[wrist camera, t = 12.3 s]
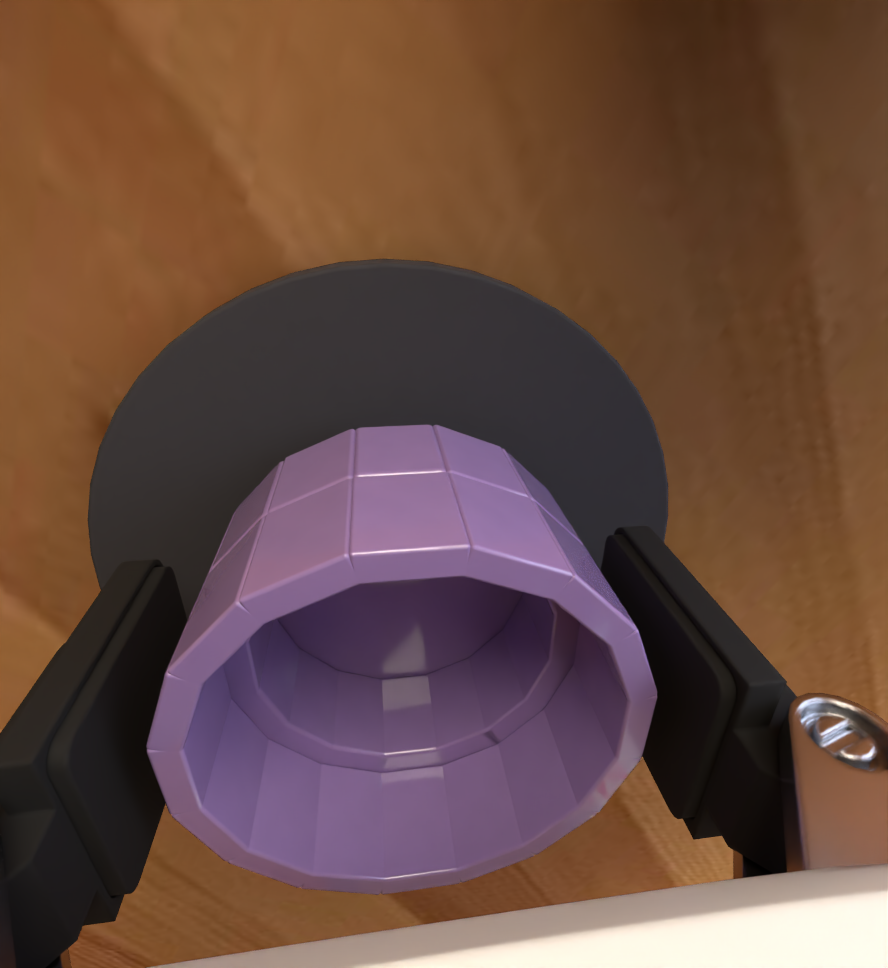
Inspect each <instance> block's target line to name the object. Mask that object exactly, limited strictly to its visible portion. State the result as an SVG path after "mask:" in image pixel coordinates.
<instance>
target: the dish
mask: <svg viewBox="0 0 888 968" xmlns="http://www.w3.org/2000/svg"><path fill="white" fill-rule="evenodd" d="M656 702H657V688H656V684H655V681H654V678H653V675H652V672H651V668H650V665H649V662H648V659H647V656H646V652H645V649H644V646H643V643H642V639H641V636H640V633H639V630H638V628H637V627H636V625H635V624H634V622H633V621H632V619H631V618H630V616H629V614H628V613H627V611H626V610H625V608H624V607H623V605H622V604H621V602H620V600H619V599H618V597H617V596H616V594H615V593H614V591H613V590H612V588H611V586H610V585H609V583H608V582H607V580H606V579H605V577H604V576H603V574H602V572H601V571H600V569H599V568H598V566H597V565H596V563H595V562H594V560H593V558H592V557H591V555H590V554H589V552H588V551H587V549H586V548H585V546H584V545H583V543H582V542H581V540H580V538H579V537H578V535H577V534H576V532H575V531H574V529H573V528H572V526H571V524H570V523H569V521H568V520H567V518H566V517H565V515H564V514H563V512H562V510H561V509H560V507H559V506H558V504H557V503H556V501H555V500H554V498H553V496H552V495H551V493H550V492H549V490H548V489H547V488H546V487H545V486H544V485H543V484H541V483H540V482H539V481H538V480H537V479H536V478H535V477H534V476H533V475H532V474H531V473H530V472H529V471H528V470H527V469H525V468H524V467H523V466H522V465H521V464H520V463H519V462H518V461H517V460H516V459H515V458H514V457H513V456H512V455H511V454H510V453H508V452H507V451H506V450H505V449H502V448H501V447H500V446H497V445H494V444H491V443H488V442H485V441H482V440H479V439H477V438H474V437H471V436H468V435H465V434H462V433H459V432H456V431H454V430H451V429H448V428H445V427H442V426H439V425H434V426H431V425H408V426H385V427H362V428H358V429H356V431H355V430H354V429H349V430H347V431H345V432H343V433H340V434H338V435H336V436H334V437H331V438H329V439H327V440H324V441H322V442H320V443H318V444H315V445H313V446H311V447H309V448H306V449H304V450H302V451H300V452H297V453H295V454H293V455H290V456H288V457H286V458H285V459H284V461H282V462H280V463H278V464H277V466H276V467H275V468H274V469H273V470H272V471H271V472H270V473H269V474H268V475H267V476H266V477H265V479H264V480H263V481H262V482H261V483H260V484H259V485H258V486H257V487H256V488H255V489H254V490H253V491H252V493H251V494H250V495H249V496H248V497H247V498H246V499H245V500H244V501H243V502H242V503H241V504H240V505H239V507H238V508H237V509H236V511H235V512H234V513H233V516H232V518H231V520H230V523H229V525H228V527H227V530H226V532H225V534H224V537H223V539H222V541H221V544H220V546H219V548H218V551H217V553H216V555H215V558H214V560H213V562H212V565H211V567H210V569H209V572H208V574H207V577H206V579H205V581H204V583H203V586H202V588H201V590H200V593H199V595H198V597H197V600H196V602H195V604H194V607H193V609H192V611H191V614H190V616H189V618H188V621H187V623H186V625H185V628H184V630H183V632H182V635H181V637H180V639H179V642H178V644H177V646H176V649H175V651H174V653H173V656H172V658H171V660H170V663H169V665H168V667H167V670H166V672H165V675H164V678H163V682H162V686H161V690H160V694H159V698H158V701H157V705H156V709H155V713H154V717H153V720H152V724H151V728H150V732H149V736H148V739H147V743H146V747H147V754H148V757H149V760H150V762H151V765H152V768H153V770H154V773H155V776H156V778H157V781H158V784H159V786H160V789H161V792H162V794H163V797H164V800H165V802H166V805H167V808H168V810H169V813H170V814H172V817H173V818H174V819H175V820H176V821H177V822H179V823H180V824H181V825H182V826H183V827H185V828H186V829H187V830H188V831H189V832H190V833H192V834H193V835H194V836H195V837H196V838H198V839H199V840H200V841H201V842H202V843H204V844H205V845H206V846H207V847H208V848H210V849H211V850H212V851H213V852H214V853H216V854H217V855H218V856H219V857H220V858H221V859H223V860H224V861H228V863H229V864H232V865H235V866H238V867H240V868H243V869H246V870H249V871H252V872H255V873H257V874H260V875H263V876H266V877H269V878H271V879H274V880H277V881H280V882H283V883H286V884H288V885H291V886H294V887H297V888H299V887H301V888H302V889H311V890H324V891H337V892H349V893H362V894H375V895H378V894H391V893H398V892H405V891H412V890H419V889H425V888H432V887H439V886H446V885H453V884H459V883H460V882H466V881H469V880H472V879H474V878H477V877H480V876H482V875H485V874H488V873H490V872H493V871H496V870H499V869H501V868H504V867H507V866H509V865H512V864H515V863H517V862H520V861H523V860H525V859H528V858H531V857H533V856H534V854H535V855H536V854H539V853H540V852H542V851H543V850H545V849H546V848H548V847H549V846H551V845H552V844H554V843H555V842H557V841H558V840H560V839H561V838H562V837H564V836H565V835H567V834H568V833H570V832H571V831H573V830H574V829H576V828H577V827H579V826H580V825H582V824H583V823H585V822H586V821H588V820H589V819H591V818H592V817H594V816H595V815H596V814H597V812H600V810H601V809H602V808H603V807H604V805H605V804H606V803H607V802H608V800H609V799H610V798H611V797H612V795H613V794H614V793H615V792H616V790H617V789H618V788H619V787H620V785H621V784H622V783H623V782H624V780H625V779H626V778H627V777H628V775H629V774H630V773H631V772H632V770H633V769H634V768H635V767H636V765H637V764H638V763H639V762H640V758H641V757H642V756H643V752H644V748H645V744H646V741H647V737H648V733H649V729H650V725H651V721H652V717H653V713H654V709H655V706H656Z"/></svg>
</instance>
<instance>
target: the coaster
mask: <svg viewBox="0 0 888 968" xmlns="http://www.w3.org/2000/svg"><path fill="white" fill-rule="evenodd" d="M408 425H431V426H434V425H439V426H442V427H445V428H448V429H451V430H454V431H456V432H459V433H462V434H465V435H468V436H471V437H474V438H477V439H479V440H482V441H485V442H488V443H491V444H494V445H497V446H500V447H501V448H502V449H505V450H506V451H507V452H508V453H510V454H511V455H512V456H513V457H514V458H515V459H516V460H517V461H518V462H519V463H520V464H521V465H522V466H523V467H524V468H525V469H527V470H528V471H529V472H530V473H531V474H532V475H533V476H534V477H535V478H536V479H537V480H538V481H539V482H540V483H541V484H543V485H544V486H545V487H546V488H547V489H548V490H549V492H550V493H551V495H552V496H553V498H554V500H555V501H556V503H557V504H558V506H559V507H560V509H561V510H562V512H563V514H564V515H565V517H566V518H567V520H568V521H569V523H570V524H571V526H572V528H573V529H574V531H575V532H576V534H577V535H578V537H579V538H580V540H581V542H582V543H583V545H584V546H585V548H586V549H587V551H588V552H589V554H590V555H591V557H592V558H593V560H594V562H595V563H596V565H597V566H598V568H599V569H600V571H601V566H602V560H603V554H604V548H605V542H606V539H607V537H608V536H609V535H614V532H615V530H616V529H617V528H619V527H629V526H644V525H645V526H649V527H650V528H651V529H652V530H653V531H654V532H655V533H656V535H657V536H658V537H659V538H660V539H661V540H662V541H663V542H664V539H665V532H666V526H667V519H668V482H667V475H666V469H665V462H664V455H663V451H662V448H661V444H660V441H659V438H658V435H657V432H656V428H655V425H654V422H653V420H652V418H651V416H650V414H649V412H648V410H647V408H646V406H645V404H644V402H643V400H642V398H641V396H640V394H639V392H638V390H637V388H636V387H635V386H634V384H633V383H632V381H631V380H630V379H629V377H628V376H627V374H626V373H625V372H624V370H623V369H622V367H621V366H620V365H619V363H618V362H617V361H616V360H615V359H614V358H613V357H612V356H611V355H610V353H609V352H608V351H607V350H606V349H605V348H604V347H603V346H602V345H601V344H600V343H599V342H598V341H597V340H596V339H595V338H594V337H593V336H592V335H591V334H590V333H588V332H587V331H586V330H584V329H583V328H582V327H580V326H579V325H578V324H576V323H575V322H574V321H572V320H571V319H570V318H568V317H567V316H566V315H564V314H563V313H562V312H560V311H559V310H558V309H556V308H554V307H552V306H550V305H548V304H546V303H545V302H543V301H541V300H539V299H537V298H535V297H533V296H531V295H530V294H528V293H526V292H524V291H522V290H520V289H518V288H517V287H515V286H513V285H511V284H508V283H505V282H502V281H500V280H497V279H494V278H491V277H488V276H486V275H483V274H480V273H477V272H475V271H472V270H467V269H462V268H457V267H453V266H448V265H443V264H438V263H433V262H427V261H411V260H394V259H376V260H363V261H351V262H338V263H334V264H329V265H325V266H320V267H316V268H312V269H307V270H303V271H298V272H294V273H291V274H289V275H286V276H283V277H281V278H278V279H275V280H273V281H270V282H268V283H265V284H262V285H260V286H257V287H254V288H252V289H250V290H248V291H246V292H245V293H243V294H241V295H239V296H238V297H236V298H234V299H232V300H230V301H229V302H227V303H225V304H223V305H221V306H220V307H218V308H216V309H214V310H213V311H211V312H210V313H208V314H207V315H205V316H204V317H203V318H201V319H200V320H199V321H198V322H196V323H195V324H194V325H192V326H191V327H190V328H189V329H187V330H186V331H185V332H183V333H182V334H181V335H180V336H178V337H177V338H176V339H174V340H173V341H172V342H171V343H169V344H168V345H167V346H166V347H165V348H164V349H163V350H162V351H161V353H160V354H159V355H158V356H157V357H156V358H155V359H154V360H153V361H152V362H151V363H150V364H149V365H148V367H147V368H146V369H145V370H144V371H143V372H142V373H141V374H140V375H139V376H138V378H137V379H136V381H135V382H134V384H133V385H132V387H131V388H130V390H129V391H128V393H127V394H126V396H125V397H124V399H123V400H122V402H121V403H120V405H119V406H118V408H117V409H116V411H115V413H114V415H113V417H112V420H111V422H110V424H109V426H108V429H107V431H106V433H105V435H104V438H103V440H102V442H101V444H100V447H99V451H98V455H97V459H96V463H95V467H94V471H93V475H92V479H91V483H90V495H89V509H88V528H89V538H90V548H91V556H92V560H93V563H94V567H95V571H96V575H97V578H98V582H99V586H100V589H101V590H102V589H103V587H104V586H105V585H106V583H107V582H108V580H109V579H110V577H111V576H112V574H113V573H114V571H115V570H116V568H117V567H118V566H119V565H120V564H121V563H122V562H124V561H136V560H151V559H158V560H160V561H161V563H162V564H163V567H166V566H170V567H171V568H172V569H173V571H174V573H175V577H176V581H177V584H178V588H179V591H180V595H181V599H182V602H183V606H184V610H185V613H186V617H187V620H188V618H189V616H190V614H191V611H192V609H193V607H194V604H195V602H196V600H197V597H198V595H199V593H200V590H201V588H202V586H203V583H204V581H205V579H206V577H207V574H208V572H209V569H210V567H211V565H212V562H213V560H214V558H215V555H216V553H217V551H218V548H219V546H220V544H221V541H222V539H223V537H224V534H225V532H226V530H227V527H228V525H229V523H230V520H231V518H232V516H233V513H234V512H235V511H236V509H237V508H238V507H239V505H240V504H241V503H242V502H243V501H244V500H245V499H246V498H247V497H248V496H249V495H250V494H251V493H252V491H253V490H254V489H255V488H256V487H257V486H258V485H259V484H260V483H261V482H262V481H263V480H264V479H265V477H266V476H267V475H268V474H269V473H270V472H271V471H272V470H273V469H274V468H275V467H276V466H277V464H278V463H280V462H282V461H284V459H285V458H286V457H288V456H290V455H293V454H295V453H297V452H300V451H302V450H304V449H306V448H309V447H311V446H313V445H315V444H318V443H320V442H322V441H324V440H327V439H329V438H331V437H334V436H336V435H338V434H340V433H343V432H345V431H347V430H349V429H354V430H355V431H356V429H358V428H362V427H385V426H408Z"/></svg>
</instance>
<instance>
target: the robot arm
mask: <svg viewBox="0 0 888 968" xmlns="http://www.w3.org/2000/svg"><path fill="white" fill-rule="evenodd" d="M601 572H602V574H603V576H604V577H605V579H606V580H607V582H608V583H609V585H610V586H611V588H612V590H613V591H614V593H615V594H616V596H617V597H618V599H619V600H620V602H621V604H622V605H623V607H624V608H625V610H626V611H627V613H628V614H629V616H630V618H631V619H632V621H633V622H634V624H635V625H636V627H637V628H638V630H639V633H640V636H641V639H642V643H643V646H644V649H645V652H646V656H647V659H648V662H649V665H650V668H651V672H652V675H653V678H654V681H655V684H656V688H657V702H656V706H655V709H654V713H653V717H652V721H651V725H650V729H649V733H648V737H647V741H646V744H645V748H644V752H643V758H644V760H645V762H646V764H647V766H648V768H649V770H650V772H651V774H652V776H653V778H654V780H655V782H656V784H657V786H658V788H659V790H660V792H661V794H662V796H663V798H664V800H665V802H666V804H667V806H668V808H669V810H670V811H671V813H672V814H673V815H674V817H675V818H677V819H682V818H683V820H684V822H685V824H686V826H687V828H688V830H689V831H690V833H691V835H692V837H693V839H701V838H708V837H715V836H723V838H724V840H725V842H726V843H727V845H728V847H730V848H731V849H733V879H731V880H723V881H716V882H709V883H702V884H696V885H689V886H682V887H675V888H668V889H661V890H654V891H647V892H640V893H633V894H627V895H620V896H613V897H606V898H599V899H592V900H585V901H578V902H571V903H565V904H558V905H551V906H544V907H538V908H531V909H524V910H518V911H511V912H504V913H498V914H491V915H484V916H478V917H471V918H464V919H458V920H451V921H444V922H438V923H431V924H425V925H418V926H411V927H405V928H398V929H392V930H385V931H378V932H372V933H365V934H359V935H352V936H345V937H339V938H332V939H326V940H319V941H313V942H307V943H300V944H294V945H287V946H281V947H275V948H268V949H262V950H255V951H249V952H243V953H236V954H230V955H223V956H217V957H211V958H204V959H198V960H192V961H185V962H179V963H172V964H166V965H160V966H153V967H147V968H888V723H887V722H885V721H884V720H883V719H882V718H880V717H879V716H878V715H876V714H875V713H873V712H872V711H870V710H868V709H866V708H865V707H863V706H861V705H859V704H858V703H855V702H853V701H850V700H847V699H845V698H842V697H839V696H835V695H830V694H825V693H807V694H804V695H802V696H799V697H797V696H796V695H795V694H794V693H793V692H792V690H791V689H790V688H789V687H788V686H787V685H786V683H787V681H786V680H785V679H784V678H783V677H782V676H781V675H780V674H779V672H778V671H777V670H776V669H775V668H774V667H773V666H772V665H771V663H770V662H769V661H768V660H767V659H766V658H765V657H764V655H763V654H762V653H761V652H760V651H759V650H758V649H757V648H756V646H755V645H754V644H753V643H752V642H751V641H750V640H749V639H748V637H747V636H746V635H745V634H744V633H743V632H742V631H741V629H740V628H739V627H738V626H737V625H736V624H735V623H734V622H733V620H732V619H731V618H730V617H729V616H728V615H727V614H726V613H725V611H724V610H723V609H722V608H721V607H720V606H719V605H718V603H717V602H716V601H715V600H714V599H713V598H712V597H711V596H710V594H709V593H708V592H707V591H706V590H705V589H704V588H703V587H702V585H701V584H700V583H699V582H698V581H697V580H696V579H695V577H694V576H693V575H692V574H691V573H690V572H689V571H688V570H687V568H686V567H685V566H684V565H683V564H682V563H681V562H680V561H679V559H678V558H677V557H676V556H675V555H674V554H673V553H672V551H671V550H670V549H669V548H668V547H667V546H666V545H665V544H664V542H663V541H662V540H661V539H660V538H659V537H658V536H657V535H656V533H655V532H654V531H653V530H652V529H651V528H650V527H649V526H645V525H644V526H629V527H619V528H617V529H616V530H615V532H614V535H609V536H608V537H607V539H606V542H605V548H604V554H603V560H602V566H601ZM187 621H188V620H187V617H186V613H185V610H184V606H183V602H182V599H181V595H180V591H179V588H178V584H177V581H176V577H175V573H174V571H173V569H172V568H171V567H170V566H166V567H163V564H162V563H161V561H160V560H158V559H151V560H136V561H124V562H122V563H121V564H120V565H119V566H118V567H117V568H116V570H115V571H114V573H113V574H112V576H111V577H110V579H109V580H108V582H107V583H106V585H105V586H104V587H103V589H102V590H101V592H100V593H99V595H98V596H97V598H96V599H95V601H94V602H93V604H92V605H91V606H90V608H89V609H88V611H87V612H86V614H85V615H84V617H83V618H82V620H81V621H80V623H79V624H78V625H77V627H76V628H75V630H74V631H73V633H72V634H71V636H70V637H69V639H68V640H67V642H66V643H65V644H63V645H62V646H61V648H60V649H59V650H58V651H57V652H56V654H55V655H54V657H53V658H52V660H51V661H50V662H49V664H48V665H47V667H46V668H45V670H44V671H43V673H42V674H41V675H40V677H39V678H38V680H37V681H36V683H35V684H34V686H33V687H32V688H31V690H30V691H29V693H28V694H27V696H26V697H25V699H24V700H23V702H22V703H21V704H20V706H19V707H18V709H17V710H16V712H15V713H14V715H13V716H12V717H11V719H10V720H9V722H8V723H7V725H6V726H5V728H4V729H3V730H2V732H1V733H0V968H72V966H71V960H70V955H69V950H68V948H69V947H70V946H71V945H72V944H73V943H74V942H76V941H77V939H78V936H79V934H80V931H81V929H82V926H84V925H91V924H98V923H105V922H112V921H115V920H116V917H117V914H118V911H119V908H120V905H121V903H122V900H123V897H124V894H130V893H132V892H133V891H134V890H135V889H136V887H137V886H138V883H139V881H140V878H141V875H142V872H143V869H144V866H145V863H146V860H147V857H148V854H149V851H150V848H151V845H152V842H153V839H154V836H155V833H156V830H157V827H158V824H159V821H160V818H161V815H162V812H163V809H164V806H165V803H166V802H165V800H164V797H163V794H162V792H161V789H160V786H159V784H158V781H157V778H156V776H155V773H154V770H153V768H152V765H151V762H150V760H149V757H148V754H147V747H146V743H147V739H148V736H149V732H150V728H151V724H152V720H153V717H154V713H155V709H156V705H157V701H158V698H159V694H160V690H161V686H162V682H163V678H164V675H165V672H166V670H167V667H168V665H169V663H170V660H171V658H172V656H173V653H174V651H175V649H176V646H177V644H178V642H179V639H180V637H181V635H182V632H183V630H184V628H185V625H186V623H187Z"/></svg>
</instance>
